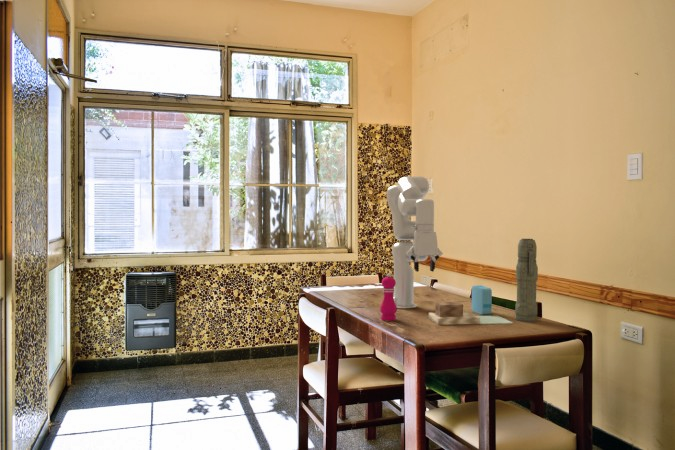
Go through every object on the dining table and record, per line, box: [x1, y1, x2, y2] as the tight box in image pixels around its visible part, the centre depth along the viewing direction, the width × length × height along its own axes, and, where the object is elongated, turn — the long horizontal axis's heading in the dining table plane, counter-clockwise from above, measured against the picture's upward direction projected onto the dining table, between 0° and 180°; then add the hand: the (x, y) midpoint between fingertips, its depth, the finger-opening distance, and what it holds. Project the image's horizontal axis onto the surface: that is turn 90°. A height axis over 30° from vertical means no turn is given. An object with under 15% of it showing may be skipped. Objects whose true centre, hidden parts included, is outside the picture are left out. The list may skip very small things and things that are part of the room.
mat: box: [476, 315, 514, 325], centre depth 234 cm, size 14×15×1 cm
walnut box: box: [434, 301, 464, 317], centre depth 232 cm, size 10×6×5 cm, turn 97°
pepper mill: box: [379, 272, 398, 322], centre depth 235 cm, size 7×7×20 cm
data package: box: [471, 285, 493, 316], centre depth 251 cm, size 12×4×12 cm, turn 10°
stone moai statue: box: [514, 238, 539, 323], centre depth 235 cm, size 9×12×35 cm
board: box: [428, 311, 481, 326], centre depth 232 cm, size 18×13×2 cm
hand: (424, 270), depth 230 cm, fingers open, 5 cm apart
